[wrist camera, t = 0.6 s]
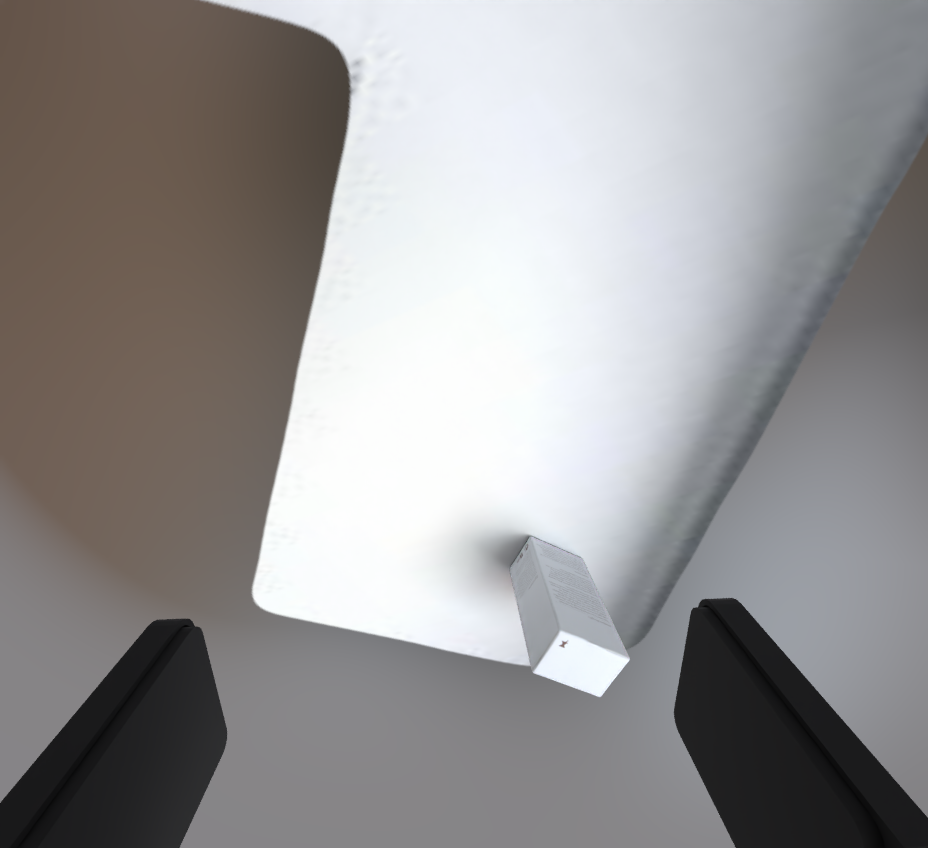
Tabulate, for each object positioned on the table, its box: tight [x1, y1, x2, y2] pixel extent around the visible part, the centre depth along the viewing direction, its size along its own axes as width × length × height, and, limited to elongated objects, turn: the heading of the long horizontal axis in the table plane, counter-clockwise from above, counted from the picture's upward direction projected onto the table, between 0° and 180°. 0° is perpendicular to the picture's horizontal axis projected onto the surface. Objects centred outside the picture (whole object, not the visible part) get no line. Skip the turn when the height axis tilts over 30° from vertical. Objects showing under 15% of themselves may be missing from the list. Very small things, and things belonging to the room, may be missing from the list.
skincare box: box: [510, 536, 630, 697], centre depth 38 cm, size 6×4×12 cm
